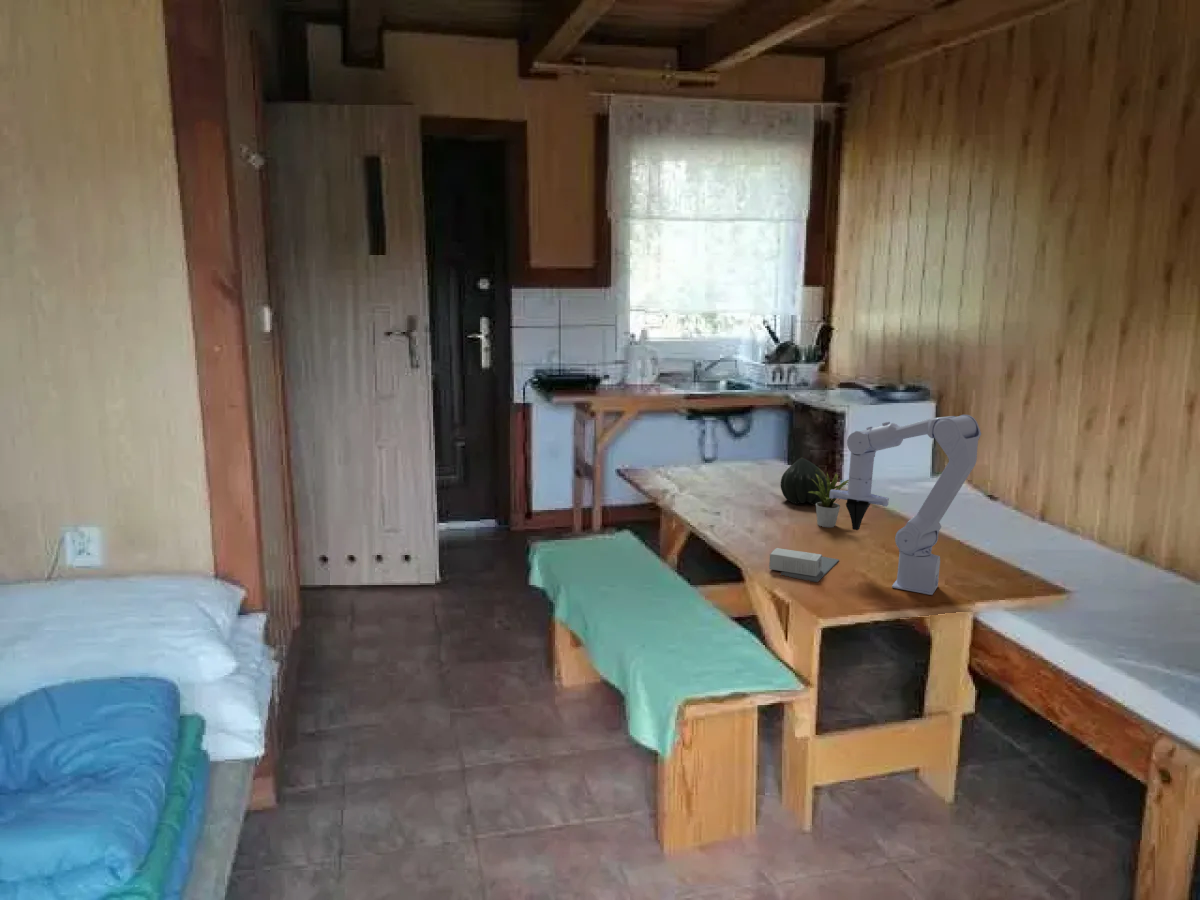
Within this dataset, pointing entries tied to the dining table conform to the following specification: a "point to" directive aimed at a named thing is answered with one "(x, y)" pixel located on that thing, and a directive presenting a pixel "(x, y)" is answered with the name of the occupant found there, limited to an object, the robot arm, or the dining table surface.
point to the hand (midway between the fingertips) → (856, 529)
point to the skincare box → (795, 562)
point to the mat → (826, 566)
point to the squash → (802, 482)
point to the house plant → (827, 502)
